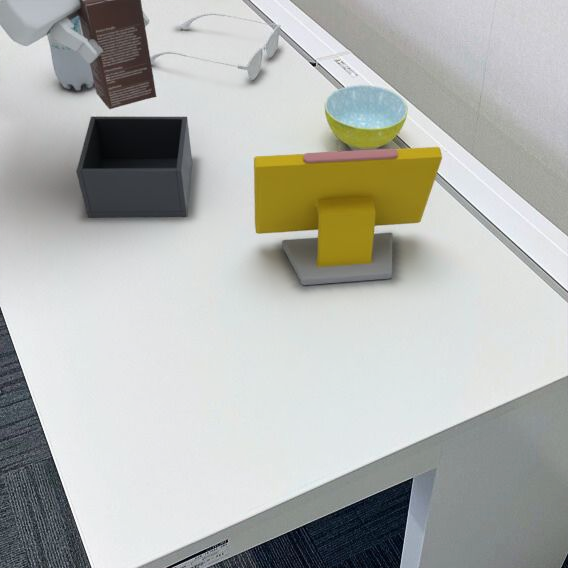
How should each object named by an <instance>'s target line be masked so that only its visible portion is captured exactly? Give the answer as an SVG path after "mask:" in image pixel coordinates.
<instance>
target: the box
mask: <svg viewBox="0 0 568 568" xmlns="http://www.w3.org/2000/svg"><path fill="white" fill-rule="evenodd" d="M79 1H80V3H81V8H80V9H79V10H78V14H79V19H80V23H81V27H82V32H83V36H84V37H85V38H86V39H88V40H89V39H91V38H94V39H95V40H96V41H97V42H98V45H99V46H101V47H102V48H103V51H104V52H103V54H102V55H101V56H100V57H99V58H98V59H96V60H95V61H94V62H92V63H90V66H91V70H92V75H93V80H94V83H93V85H94V88H95V93H96V95H97V96H98V97H99V98H100V100H101V101H102V102H103V103H104V105H105V106H106V107H107V108H108V110H112V109H116V108H119V107H123V106H126V105H130V104H135V103H138V102H142V101H145V100H150V99H153V98H157V91H156V86H155V80H154V78H155V77H154V73H153V67H152V65H151V60H150V57H151V55H150V49H149V43H148V36H147V29H146V27H145V23H144V17H143V12H144V10H143V6H142V0H79Z"/></svg>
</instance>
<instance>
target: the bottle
mask: <svg viewBox="0 0 568 568" xmlns="http://www.w3.org/2000/svg"><path fill="white" fill-rule="evenodd" d="M71 22H72V24H73V25H74V27H73V29H72V30H74V31H75V32H77V33H78V34H80V35H82V36H83V32H82V27H81V23H80V19H79V16H78V17H76V18H75V19H73V20H71ZM46 37H47V41H48V44H49V49H50V55H51V61H52V66H53V67H52V68H53V71H54V74H55V77H56V79H57V80H58V81H59V83H60V84H61V85H62V87H63V88H65V89H66V90H70V89H71V88H72V87H73V89H74V90H75V91H81V90H82V85H84V84H85V87H86V88H87V89H90V88H93V86H94V80H93V75H92V70H91V66H90V63H87V62H86V61H85V60H84V58H83V57H82V56H81V55H80V54H79V53H78V51H75V50H73V49H71V48H69V47H67V46H65V45H63V44H61V43H59V42H58V41H57V40H56V39H55V38H54V37H53V36H52V34H51V33H49V34H48V35H46ZM83 37H84V36H83Z"/></svg>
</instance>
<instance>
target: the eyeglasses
mask: <svg viewBox="0 0 568 568" xmlns="http://www.w3.org/2000/svg"><path fill="white" fill-rule="evenodd" d="M206 16H219V17H227V18H235V19H239V20H243V21H244V20H245V21H248V22H255V23H259V24H263V25H268V26H271V27H272V28H274V29H273V30H272V32H271V33H270V35H268V38H266V39H267V40H266V42H265V43H264V44H263V45H262V46H261V47H260V48H258V49H257V50H256V51H255V52H254V54H253V55H252V56H251V57H250V59H249V60H248V61H247V64H245V65H242V64H237V65H236V64H231V63H230V64H229V63H224V62H218V61H213V60H210V59H209V60H208V59H204V58H199V57H195V56H191V55H187V54H183V53H180V52H176V51H164V52H159V53H156V54H153V55H150V60H151V66H152V65H153V64H154V63H155V61H156V59H158V58H159V57H161V56H164V55H169V54H171V55H177V56H178V55H179V56H182V57H188V58H192V59H195V60H196V59H197V60H200V61H206V62H210V63H215V64H221V65H226V66H231V67H236V68H237V69H239V70H242V71H243V70H244V71H247V75H248V77H249V80H251V81H254V80H256V78H257V77H258V75H259V73H260V71H261V68H262V62H263V53H264V51H265V53H266V55H267V58H268V59H270V58H272V57H274V56H275V54H276V52H277V49H278V44H279V39H280V32H281V31H280V30H281V25H282V24H277V23H272V24H270V23H266V22H262V21H257V20H252V19H247V18H242V17H238V16H237V17H236V16H232V15H226V14H222V13H204V14H200V15H196V16H194V17H192V18H190V19H188V20H186V21H184V22H183V23H182V24H180V26H179V29H180V30H187V29H189V28H190V26H191V25H192V23H193V22H195V21H196V20H198V19H200V18H203V17H206Z"/></svg>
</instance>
